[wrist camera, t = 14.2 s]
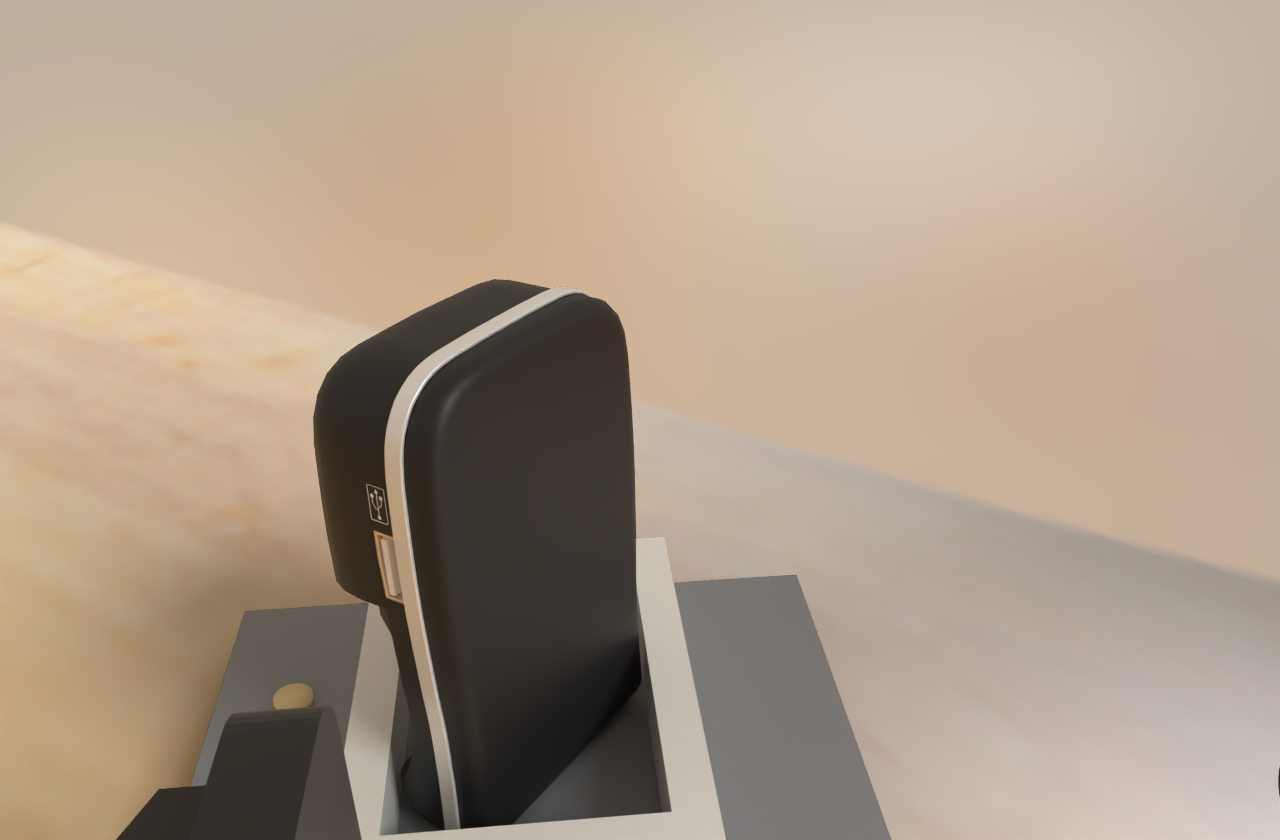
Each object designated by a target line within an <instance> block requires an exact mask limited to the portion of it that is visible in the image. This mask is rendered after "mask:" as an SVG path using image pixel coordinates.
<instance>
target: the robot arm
mask: <svg viewBox="0 0 1280 840" xmlns="http://www.w3.org/2000/svg"><path fill="white" fill-rule="evenodd" d="M1278 779H1279V795H1280V768H1279V777H1278ZM116 840H362V839H361V833H360V829H359V824H358V819H357V814H356V809H355V804H354V799H353V794H352V789H351V784H350V780H349V775H348V770H347V765H346V760H345V755H344V750H343V745H342V740H341V736H340V731H339V726H338V722H337V718H336V715H335V712H334V710H333V709H332V707H331V706H316V707H303V708H290V709H278V710H265V711H252V712H239V713H233V714H231V715H230V717H229V718H228V719H227V721H226V723H225V725H224V728H223V731H222V734H221V737H220V740H219V743H218V747H217V750H216V753H215V756H214V760H213V763H212V766H211V770H210V773H209V776H208V779H207V783H206V785H203V786H191V787H179V788H166V789H159V790H158V791H157V792H156V793H155V795H154V796H153V797H152V798H151V799H150V800H149V802H148V803H147V804H146V805H145V806H144V807H143V809H142V810H141V811H140V812H139V813H138V815H137V816H136V817H135V818H134V819H133V820H132V822H131V823H130V824H129V825H128V826H127V827H126V829H125V830H124V831H123V832H122V833H121V835H120V836H119V837H118V838H117V839H116Z"/></svg>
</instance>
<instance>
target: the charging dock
mask: <svg viewBox="0 0 1280 840" xmlns="http://www.w3.org/2000/svg"><path fill="white" fill-rule="evenodd" d="M636 585H637V609H638V627H639V646H640V659H641V672H642V681H641V685H640V687H639V688H638V689H637V691H636V692H635V693H634V694H633V695H632V696H631V697H630V698H629V700H628V701H627V702H626V703H625V704H624V705H623V706H622V708H621V709H620V710H619V711H618V712H617V713H616V714H615V715H614V717H613V718H612V719H611V720H610V721H609V722H608V723H607V724H606V725H605V726H604V728H603V729H602V730H601V731H600V732H599V733H598V734H597V735H596V736H595V737H594V738H593V740H592V741H591V742H590V743H589V744H588V745H587V746H586V747H585V748H584V749H583V751H582V752H581V753H580V754H579V755H578V756H577V757H576V758H575V759H574V760H573V761H572V763H571V764H570V765H569V766H568V767H567V768H566V769H565V770H564V771H563V772H562V773H561V774H560V775H559V776H558V777H557V778H556V779H555V780H554V782H553V783H552V784H551V785H550V786H549V787H548V788H547V789H546V790H545V791H544V792H543V793H542V794H541V795H540V796H539V797H538V798H537V800H536V801H535V802H534V803H533V804H532V805H531V806H530V807H529V808H528V809H527V810H526V811H525V812H524V813H523V814H522V815H521V816H520V817H519V818H518V819H517V820H516V821H515V822H514V823H513V824H512V825H504V826H492V827H480V828H468V829H456V830H443V829H441V828H439V827H437V826H435V825H433V824H431V823H430V822H428V821H426V820H425V819H424V818H423V817H422V816H421V815H420V814H418V813H417V812H416V811H415V810H413V808H412V807H411V806H410V804H409V803H408V801H407V800H406V798H405V795H404V793H403V790H402V783H401V771H402V767H403V765H404V763H405V762H406V760H407V759H408V758H409V757H410V756H411V755H412V749H413V735H412V728H411V721H410V715H409V710H408V705H407V701H406V697H405V693H404V689H403V685H402V681H401V676H400V672H399V667H398V663H397V658H396V654H395V649H394V644H393V640H392V636H391V633H390V632H389V630H388V628H387V626H386V624H385V622H384V621H383V619H382V617H381V615H380V610H379V606H377V605H374V604H372V603H363V604H347V605H332V606H317V607H302V608H287V609H272V610H257V611H245V612H244V616H243V619H242V622H241V625H240V628H239V632H238V635H237V638H236V641H235V644H234V647H233V651H232V654H231V657H230V660H229V663H228V667H227V670H226V673H225V676H224V679H223V683H222V686H221V689H220V692H219V695H218V699H217V702H216V705H215V708H214V711H213V715H212V718H211V721H210V724H209V727H208V731H207V734H206V737H205V740H204V743H203V746H202V750H201V753H200V756H199V759H198V762H197V766H196V769H195V772H194V775H193V778H192V782H191V785H190V787H191V786H203V785H206V783H207V779H208V776H209V773H210V770H211V766H212V763H213V760H214V756H215V753H216V750H217V747H218V743H219V740H220V737H221V734H222V731H223V728H224V725H225V723H226V721H227V719H228V718H229V717H230V715H231V714H233V713H239V712H252V711H265V710H278V709H290V708H303V707H316V706H331V707H332V709H333V710H334V712H335V715H336V718H337V722H338V726H339V731H340V736H341V740H342V745H343V750H344V755H345V760H346V765H347V770H348V775H349V780H350V784H351V789H352V794H353V799H354V804H355V809H356V814H357V819H358V824H359V829H360V833H361V839H362V840H891V838H890V835H889V832H888V829H887V826H886V824H885V821H884V818H883V815H882V812H881V810H880V807H879V804H878V801H877V799H876V796H875V793H874V790H873V787H872V785H871V782H870V779H869V776H868V773H867V771H866V768H865V765H864V762H863V759H862V757H861V754H860V751H859V748H858V745H857V743H856V740H855V737H854V734H853V732H852V729H851V726H850V723H849V720H848V718H847V715H846V712H845V709H844V706H843V704H842V701H841V698H840V695H839V692H838V690H837V687H836V684H835V681H834V678H833V676H832V673H831V670H830V667H829V665H828V662H827V659H826V656H825V653H824V651H823V648H822V645H821V642H820V639H819V637H818V634H817V631H816V628H815V625H814V623H813V620H812V617H811V614H810V612H809V609H808V606H807V603H806V600H805V598H804V595H803V592H802V589H801V586H800V584H799V581H798V578H797V575H785V576H770V577H755V578H740V579H725V580H710V581H695V582H680V583H674V582H673V577H672V572H671V567H670V562H669V557H668V552H667V548H666V543H665V538H664V537H654V538H638V539H636Z"/></svg>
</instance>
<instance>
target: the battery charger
mask: <svg viewBox="0 0 1280 840" xmlns="http://www.w3.org/2000/svg"><path fill="white" fill-rule="evenodd" d="M313 422H314V447H315V455H316V462H317V470H318V478H319V485H320V492H321V499H322V505H323V512H324V518H325V524H326V530H327V536H328V541H329V546H330V551H331V556H332V561H333V566H334V571H335V576H336V580H337V582H338V583H339V584H340V585H341V587H342V588H343V589H344V590H345V591H347V592H349V593H350V594H352V595H354V596H356V597H358V598H360V599H362V600H364V601H367V602H369V603H372V604H374V605H377V606H379V610H380V615H381V617H382V619H383V621H384V622H385V624H386V626H387V628H388V630H389V632H390V633H391V636H392V640H393V644H394V649H395V654H396V658H397V663H398V667H399V672H400V676H401V681H402V685H403V689H404V693H405V697H406V701H407V705H408V710H409V715H410V721H411V728H412V735H413V749H412V755H411V756H410V757H409V758H408V759H407V760H406V762H405V763H404V765H403V767H402V771H401V783H402V790H403V793H404V795H405V798H406V800H407V801H408V803H409V804H410V806H411V807H412V808H413V810H415V811H416V812H417V813H418V814H420V815H421V816H422V817H423V818H424V819H425V820H426V821H428V822H430V823H431V824H433V825H435V826H437V827H439V828H441V829H443V830H456V829H468V828H480V827H492V826H504V825H512V824H513V823H514V822H515V821H516V820H517V819H518V818H519V817H520V816H521V815H522V814H523V813H524V812H525V811H526V810H527V809H528V808H529V807H530V806H531V805H532V804H533V803H534V802H535V801H536V800H537V798H538V797H539V796H540V795H541V794H542V793H543V792H544V791H545V790H546V789H547V788H548V787H549V786H550V785H551V784H552V783H553V782H554V780H555V779H556V778H557V777H558V776H559V775H560V774H561V773H562V772H563V771H564V770H565V769H566V768H567V767H568V766H569V765H570V764H571V763H572V761H573V760H574V759H575V758H576V757H577V756H578V755H579V754H580V753H581V752H582V751H583V749H584V748H585V747H586V746H587V745H588V744H589V743H590V742H591V741H592V740H593V738H594V737H595V736H596V735H597V734H598V733H599V732H600V731H601V730H602V729H603V728H604V726H605V725H606V724H607V723H608V722H609V721H610V720H611V719H612V718H613V717H614V715H615V714H616V713H617V712H618V711H619V710H620V709H621V708H622V706H623V705H624V704H625V703H626V702H627V701H628V700H629V698H630V697H631V696H632V695H633V694H634V693H635V692H636V691H637V689H638V688H639V687H640V685H641V681H642V672H641V659H640V646H639V627H638V609H637V585H636V511H635V468H634V443H633V424H632V406H631V392H630V377H629V363H628V352H627V346H626V339H625V332H624V329H623V327H622V324H621V321H620V319H619V316H618V315H617V313H616V312H614V310H613V309H612V308H611V307H610V306H609V305H608V304H607V303H606V302H605V301H603V300H600V299H598V298H595V297H594V296H593V295H591V294H590V293H588V292H586V291H584V290H580V289H576V288H571V287H556V288H552V289H550V288H545V287H540V286H535V285H530V284H525V283H521V282H516V281H510V280H496V279H494V280H490V281H487V282H483V283H480V284H477V285H475V286H472V287H470V288H468V289H466V290H464V291H462V292H459V293H457V294H455V295H453V296H451V297H449V298H447V299H444V300H442V301H440V302H438V303H436V304H434V305H432V306H430V307H427V308H425V309H423V310H421V311H419V312H417V313H415V314H413V315H411V316H410V317H408V318H406V319H404V320H402V321H400V322H398V323H397V324H395V325H393V326H391V327H389V328H387V329H386V330H384V331H382V332H380V333H378V334H376V335H375V336H373V337H371V338H369V339H367V340H365V341H364V342H362V343H360V344H358V345H357V346H355V347H354V348H353V349H351V350H350V351H348V352H347V353H346V354H344V355H343V356H341V357H340V358H339V360H338V361H337V362H336V363H335V364H334V366H333V367H332V368H331V369H330V370H329V372H328V373H327V375H326V377H325V379H324V381H323V383H322V386H321V388H320V390H319V392H318V395H317V400H316V406H315V412H314V418H313Z"/></svg>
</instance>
